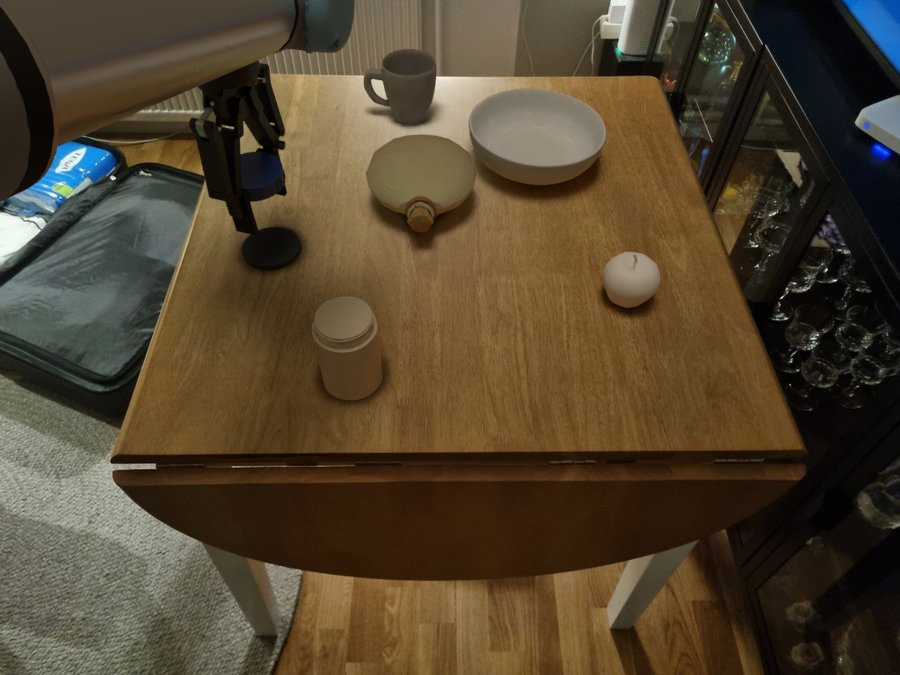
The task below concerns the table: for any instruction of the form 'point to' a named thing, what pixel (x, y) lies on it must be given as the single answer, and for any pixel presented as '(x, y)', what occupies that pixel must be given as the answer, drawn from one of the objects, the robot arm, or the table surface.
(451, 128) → the table surface
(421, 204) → the flask
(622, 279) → the apple
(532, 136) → the serving bowl
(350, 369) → the jar
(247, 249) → the coaster
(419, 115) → the mug
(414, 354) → the table surface
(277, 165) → the jar lid
